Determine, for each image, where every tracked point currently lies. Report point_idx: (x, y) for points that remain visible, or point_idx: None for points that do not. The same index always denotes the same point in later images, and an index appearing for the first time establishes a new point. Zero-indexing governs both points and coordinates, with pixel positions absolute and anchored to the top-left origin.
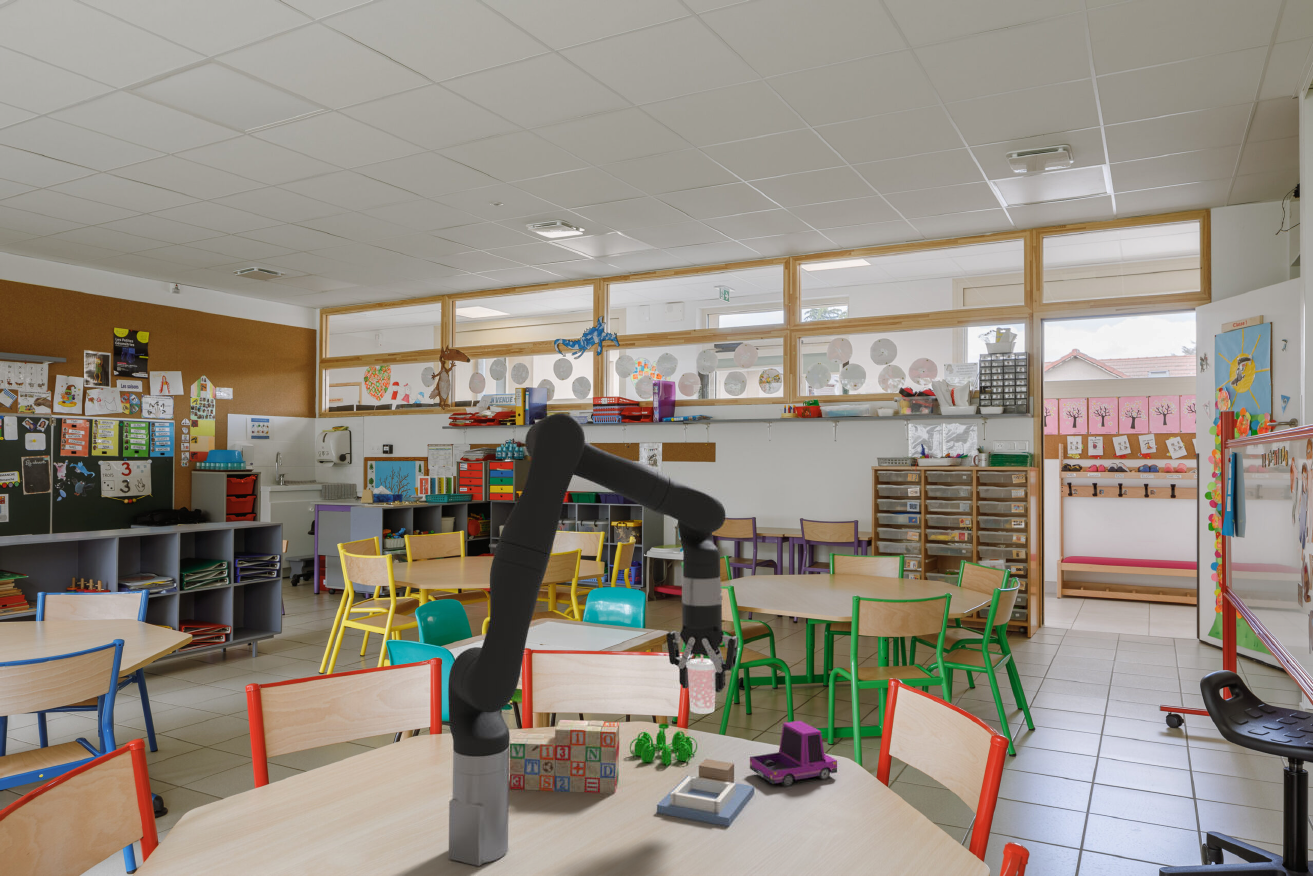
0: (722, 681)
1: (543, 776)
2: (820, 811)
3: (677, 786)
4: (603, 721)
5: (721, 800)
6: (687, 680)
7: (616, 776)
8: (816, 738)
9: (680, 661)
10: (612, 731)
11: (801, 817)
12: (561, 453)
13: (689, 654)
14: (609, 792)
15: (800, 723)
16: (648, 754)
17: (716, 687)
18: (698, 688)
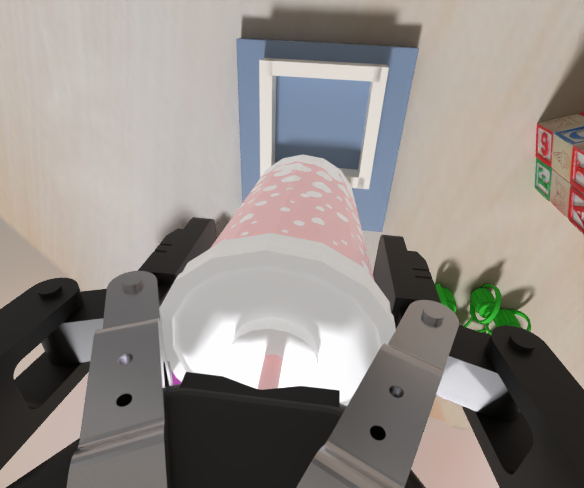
0: (157, 253)
1: None
2: (117, 177)
3: (391, 170)
4: None
5: (259, 75)
6: (380, 278)
7: (548, 161)
8: None
9: (448, 339)
10: None
11: (134, 140)
12: None
13: (365, 376)
14: (552, 119)
15: (180, 383)
16: (483, 297)
17: (199, 228)
18: (290, 192)
